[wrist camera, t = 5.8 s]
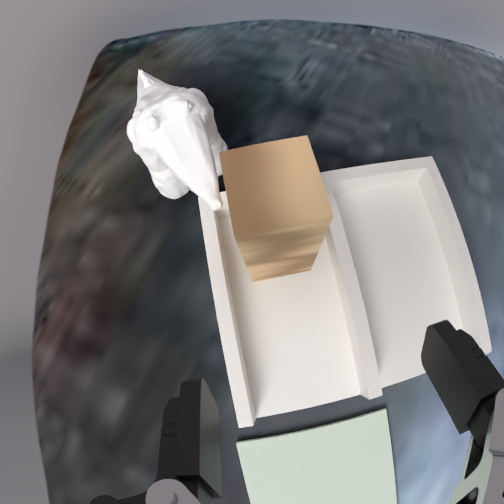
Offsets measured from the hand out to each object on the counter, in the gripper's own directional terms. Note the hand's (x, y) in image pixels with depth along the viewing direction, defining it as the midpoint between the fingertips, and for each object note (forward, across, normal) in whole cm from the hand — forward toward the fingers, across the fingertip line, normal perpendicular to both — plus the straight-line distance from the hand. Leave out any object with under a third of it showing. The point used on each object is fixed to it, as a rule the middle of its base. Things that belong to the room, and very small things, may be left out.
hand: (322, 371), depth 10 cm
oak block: (+15, 0, +3) cm, 16 cm away
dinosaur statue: (+25, +6, -4) cm, 26 cm away
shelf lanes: (+13, -5, +7) cm, 16 cm away
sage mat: (+2, 0, +19) cm, 19 cm away
